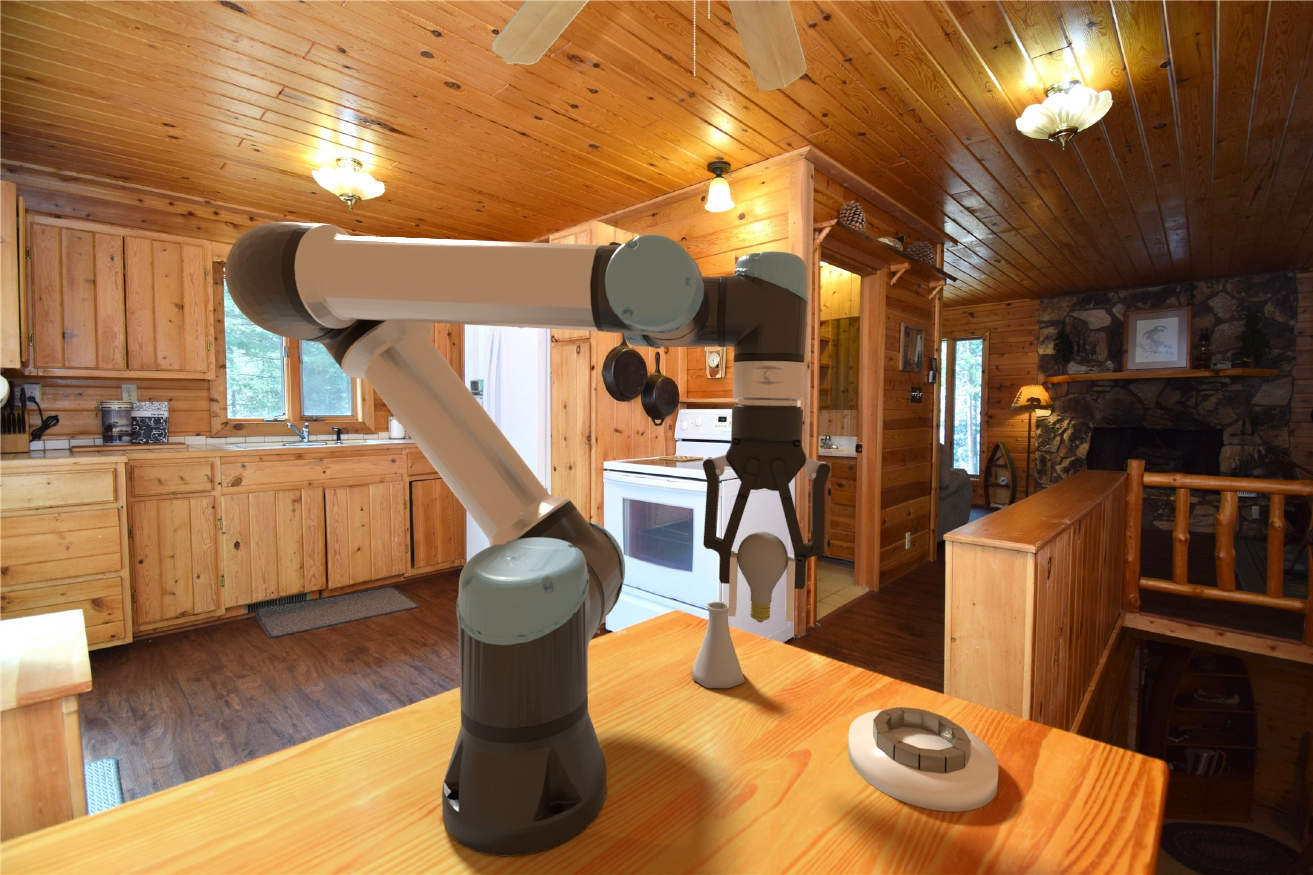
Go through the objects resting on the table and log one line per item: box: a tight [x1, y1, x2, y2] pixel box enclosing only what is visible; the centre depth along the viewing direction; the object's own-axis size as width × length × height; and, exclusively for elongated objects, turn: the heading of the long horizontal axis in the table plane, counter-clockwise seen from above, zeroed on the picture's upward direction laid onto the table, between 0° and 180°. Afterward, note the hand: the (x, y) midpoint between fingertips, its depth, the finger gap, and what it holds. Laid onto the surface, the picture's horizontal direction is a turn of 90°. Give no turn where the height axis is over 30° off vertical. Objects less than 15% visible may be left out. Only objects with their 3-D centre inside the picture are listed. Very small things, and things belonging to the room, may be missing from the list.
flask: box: [691, 601, 746, 689], centre depth 79 cm, size 7×7×10 cm
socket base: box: [847, 709, 999, 813], centre depth 60 cm, size 14×14×2 cm
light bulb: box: [737, 531, 789, 623], centre depth 64 cm, size 6×6×10 cm
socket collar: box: [873, 706, 971, 774], centre depth 60 cm, size 9×9×2 cm
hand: (760, 613), depth 64 cm, fingers closed on light bulb, 5 cm apart
